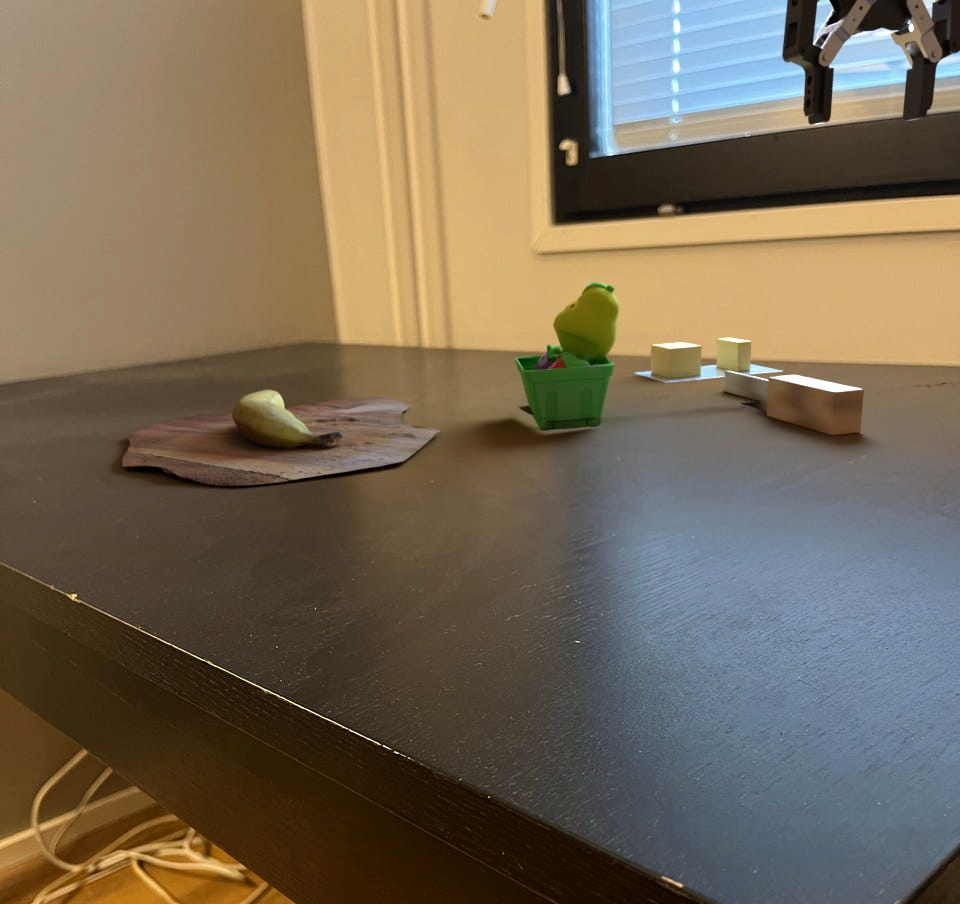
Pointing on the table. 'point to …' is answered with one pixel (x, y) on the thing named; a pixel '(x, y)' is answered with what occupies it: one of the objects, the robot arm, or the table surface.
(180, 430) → the cutting board
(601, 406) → the fruit basket
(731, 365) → the butter pat
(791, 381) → the knife
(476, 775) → the table surface
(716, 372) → the butter dish
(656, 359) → the butter stick
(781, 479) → the table surface
